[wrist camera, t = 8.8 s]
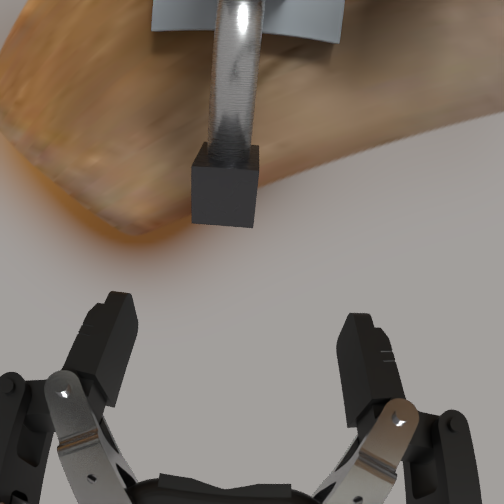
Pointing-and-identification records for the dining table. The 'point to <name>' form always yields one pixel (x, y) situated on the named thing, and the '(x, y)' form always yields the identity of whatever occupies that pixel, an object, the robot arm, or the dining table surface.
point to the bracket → (275, 19)
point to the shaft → (230, 120)
